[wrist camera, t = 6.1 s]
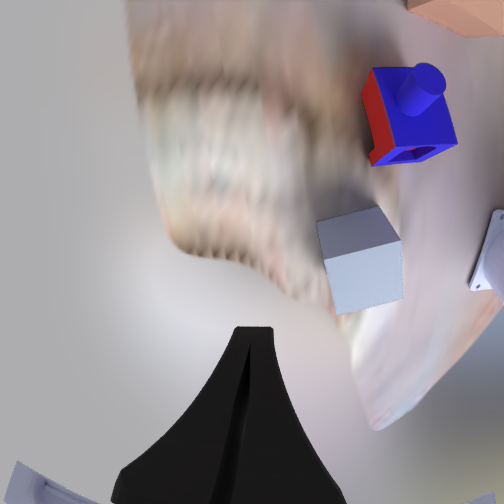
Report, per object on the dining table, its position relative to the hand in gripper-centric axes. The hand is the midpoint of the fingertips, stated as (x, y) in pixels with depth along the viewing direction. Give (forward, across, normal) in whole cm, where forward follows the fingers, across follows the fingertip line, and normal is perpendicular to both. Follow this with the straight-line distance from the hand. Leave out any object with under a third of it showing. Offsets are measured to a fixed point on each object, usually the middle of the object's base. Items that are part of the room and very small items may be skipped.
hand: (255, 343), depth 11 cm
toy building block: (+11, -8, -7) cm, 15 cm away
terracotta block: (+10, -12, -16) cm, 23 cm away
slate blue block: (+10, -6, +2) cm, 12 cm away
